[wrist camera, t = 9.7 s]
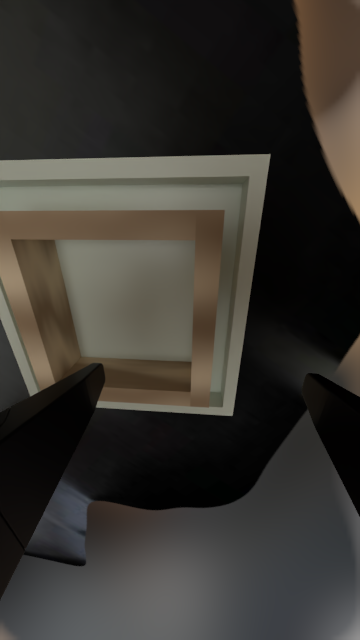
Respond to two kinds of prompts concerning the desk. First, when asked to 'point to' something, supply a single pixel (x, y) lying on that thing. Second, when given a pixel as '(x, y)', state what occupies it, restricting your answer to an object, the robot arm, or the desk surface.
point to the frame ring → (54, 310)
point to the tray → (146, 259)
